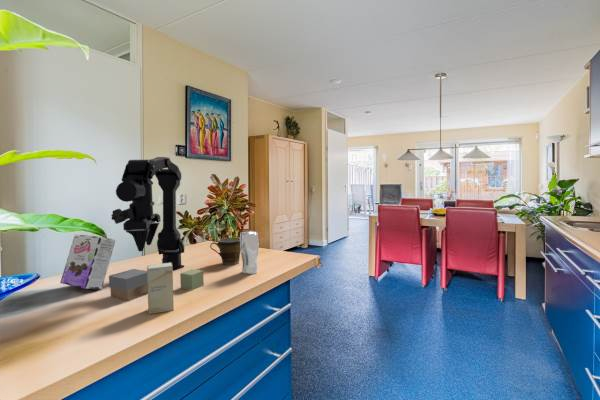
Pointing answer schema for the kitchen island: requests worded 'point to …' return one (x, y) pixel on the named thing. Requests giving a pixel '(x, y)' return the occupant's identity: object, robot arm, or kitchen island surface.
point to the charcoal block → (128, 279)
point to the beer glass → (249, 251)
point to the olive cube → (191, 279)
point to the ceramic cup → (228, 250)
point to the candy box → (88, 262)
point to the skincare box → (160, 287)
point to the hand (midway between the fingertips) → (145, 248)
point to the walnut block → (129, 293)
